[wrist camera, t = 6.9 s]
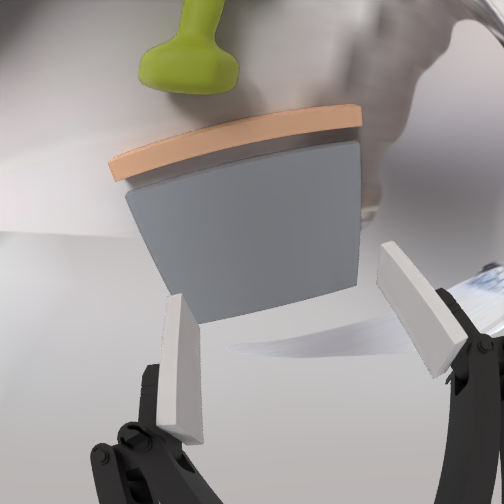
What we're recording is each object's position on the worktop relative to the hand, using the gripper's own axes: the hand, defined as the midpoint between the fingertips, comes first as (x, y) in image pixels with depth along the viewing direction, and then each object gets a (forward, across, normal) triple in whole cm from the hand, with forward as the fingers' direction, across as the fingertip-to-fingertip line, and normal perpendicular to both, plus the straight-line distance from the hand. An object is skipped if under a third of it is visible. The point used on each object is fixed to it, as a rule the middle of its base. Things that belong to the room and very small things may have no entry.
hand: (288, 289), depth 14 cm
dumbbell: (+17, 0, +17) cm, 24 cm away
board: (+17, 0, -8) cm, 19 cm away
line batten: (+17, 0, +5) cm, 17 cm away
